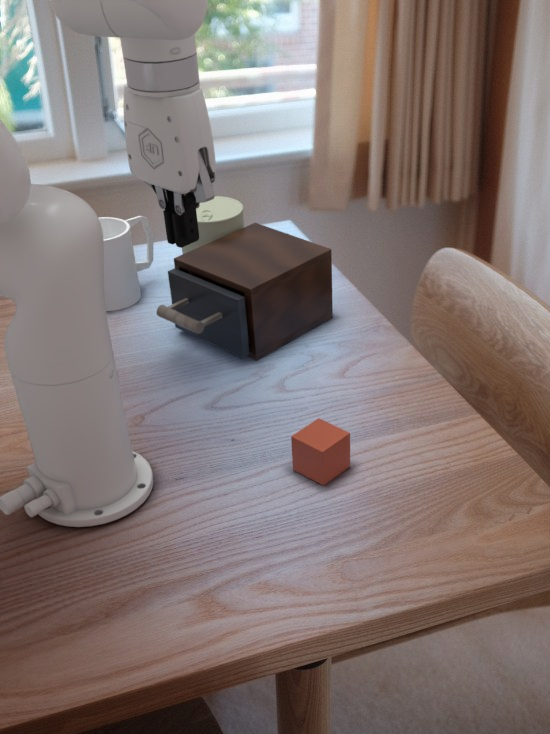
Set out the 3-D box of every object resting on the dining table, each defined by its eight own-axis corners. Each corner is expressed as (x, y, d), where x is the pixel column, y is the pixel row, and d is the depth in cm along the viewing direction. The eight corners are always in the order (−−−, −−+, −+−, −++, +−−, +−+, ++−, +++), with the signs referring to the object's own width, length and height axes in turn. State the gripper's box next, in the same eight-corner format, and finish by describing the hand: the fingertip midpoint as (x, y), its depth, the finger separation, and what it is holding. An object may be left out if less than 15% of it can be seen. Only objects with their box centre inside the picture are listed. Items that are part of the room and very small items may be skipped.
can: (181, 301, 127) (170, 218, 119) (190, 273, 134) (180, 192, 126) (247, 301, 127) (240, 217, 119) (252, 272, 134) (246, 191, 126)
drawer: (215, 373, 110) (208, 314, 105) (147, 341, 117) (138, 284, 112) (315, 318, 121) (313, 262, 116) (248, 290, 127) (243, 236, 122)
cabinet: (256, 361, 114) (250, 289, 108) (182, 327, 121) (173, 258, 115) (332, 317, 123) (331, 248, 117) (260, 288, 130) (255, 222, 124)
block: (323, 486, 95) (322, 452, 92) (292, 469, 97) (290, 436, 94) (350, 466, 97) (350, 432, 94) (319, 451, 99) (318, 417, 97)
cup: (174, 290, 130) (165, 221, 123) (101, 317, 124) (87, 247, 117) (143, 271, 135) (133, 205, 128) (71, 296, 128) (56, 228, 122)
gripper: (87, 68, 96) (117, 235, 108) (184, 94, 88) (204, 270, 100) (142, 54, 100) (165, 216, 112) (239, 77, 93) (252, 248, 104)
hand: (183, 241), depth 106 cm, fingers closed
